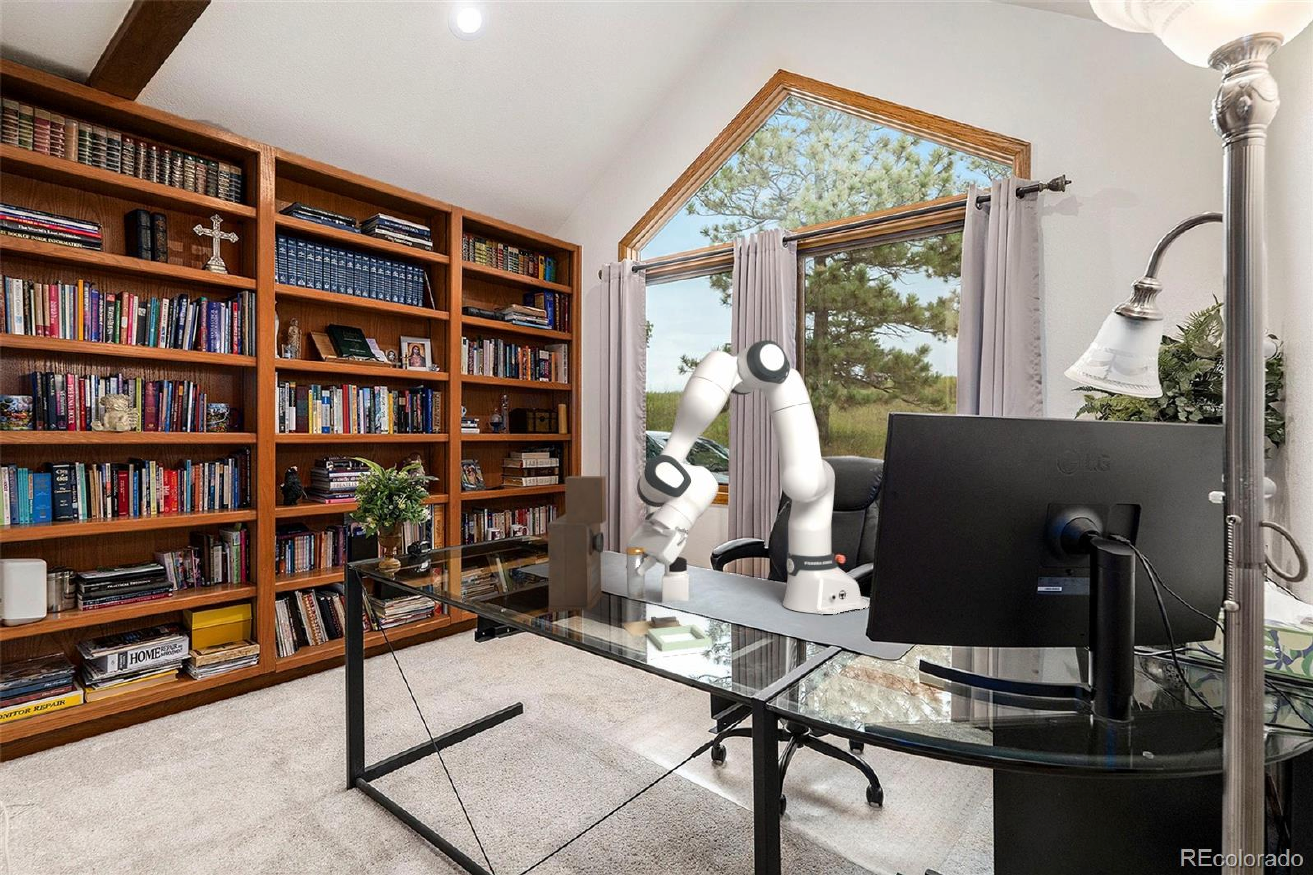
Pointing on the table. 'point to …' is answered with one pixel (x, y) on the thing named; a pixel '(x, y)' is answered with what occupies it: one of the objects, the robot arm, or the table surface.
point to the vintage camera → (577, 546)
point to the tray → (678, 645)
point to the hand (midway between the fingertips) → (633, 571)
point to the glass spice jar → (633, 579)
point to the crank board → (650, 625)
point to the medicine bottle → (676, 582)
